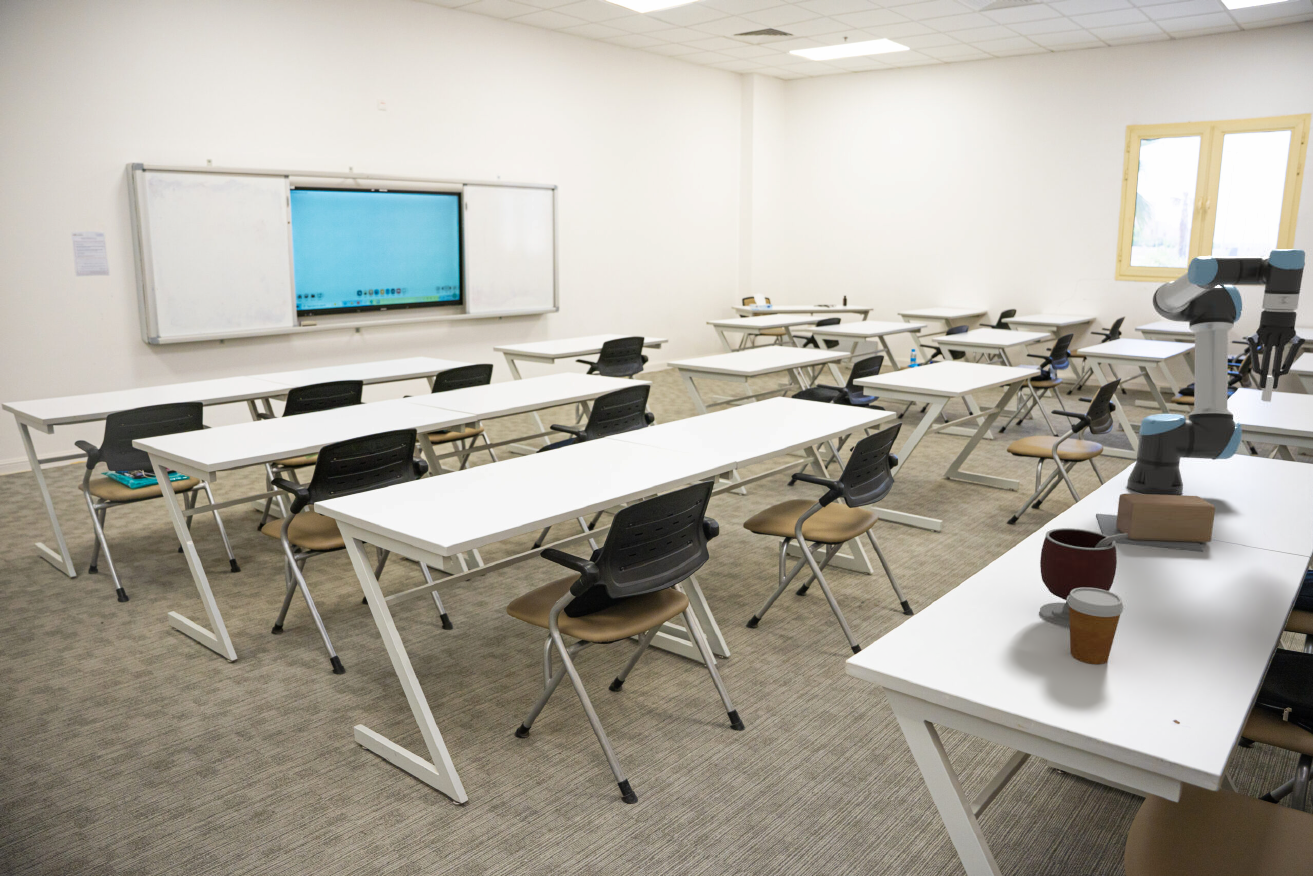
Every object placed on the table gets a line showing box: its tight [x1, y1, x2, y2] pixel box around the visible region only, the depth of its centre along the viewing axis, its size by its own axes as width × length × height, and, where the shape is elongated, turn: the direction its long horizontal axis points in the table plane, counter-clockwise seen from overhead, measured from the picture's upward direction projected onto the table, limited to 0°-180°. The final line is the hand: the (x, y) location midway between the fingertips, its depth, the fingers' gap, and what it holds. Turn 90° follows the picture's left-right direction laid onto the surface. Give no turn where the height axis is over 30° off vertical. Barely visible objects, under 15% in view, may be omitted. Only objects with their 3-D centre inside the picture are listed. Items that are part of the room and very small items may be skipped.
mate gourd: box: [1039, 527, 1128, 629], centre depth 180 cm, size 16×14×20 cm
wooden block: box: [1116, 493, 1216, 543], centre depth 230 cm, size 10×10×20 cm
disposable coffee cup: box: [1067, 587, 1125, 665], centre depth 164 cm, size 10×10×12 cm
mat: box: [1095, 512, 1204, 552], centre depth 235 cm, size 24×22×1 cm
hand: (1265, 400), depth 233 cm, fingers closed
